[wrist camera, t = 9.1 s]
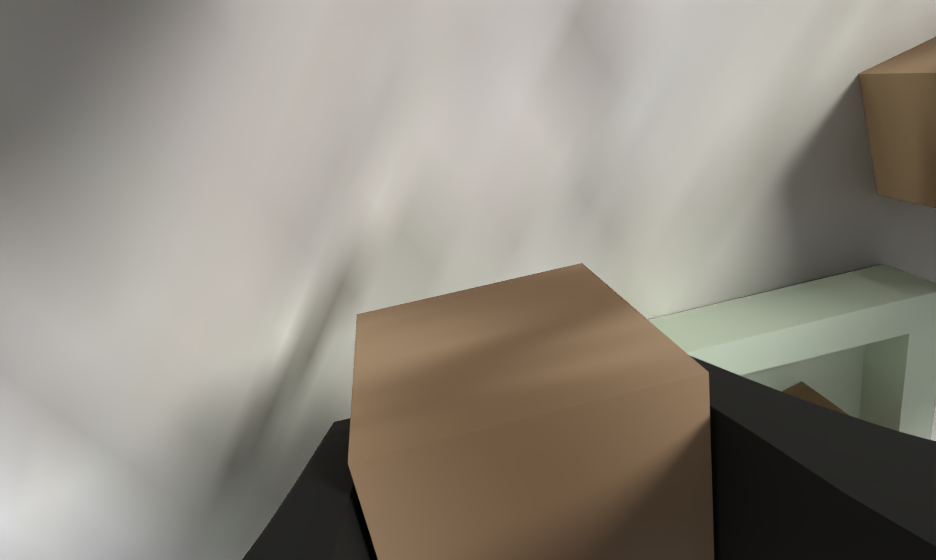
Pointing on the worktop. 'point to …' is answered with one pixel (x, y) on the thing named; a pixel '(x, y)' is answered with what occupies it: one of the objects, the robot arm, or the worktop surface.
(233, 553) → the worktop surface
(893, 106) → the block
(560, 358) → the block
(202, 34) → the worktop surface
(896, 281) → the tray
